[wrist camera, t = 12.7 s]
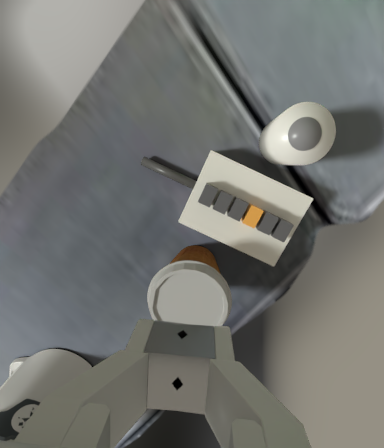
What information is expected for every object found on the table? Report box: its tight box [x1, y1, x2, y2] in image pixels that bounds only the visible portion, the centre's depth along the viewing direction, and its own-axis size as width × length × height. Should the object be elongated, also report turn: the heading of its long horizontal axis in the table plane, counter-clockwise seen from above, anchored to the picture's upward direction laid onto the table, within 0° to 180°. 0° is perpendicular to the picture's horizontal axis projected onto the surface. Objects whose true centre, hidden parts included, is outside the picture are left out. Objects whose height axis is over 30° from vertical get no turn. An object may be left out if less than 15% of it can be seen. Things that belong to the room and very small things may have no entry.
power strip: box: [141, 150, 313, 267], centre depth 34 cm, size 10×22×6 cm, turn 65°
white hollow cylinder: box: [259, 102, 336, 165], centre depth 30 cm, size 6×6×9 cm
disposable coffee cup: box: [147, 245, 232, 326], centre depth 34 cm, size 10×10×12 cm
